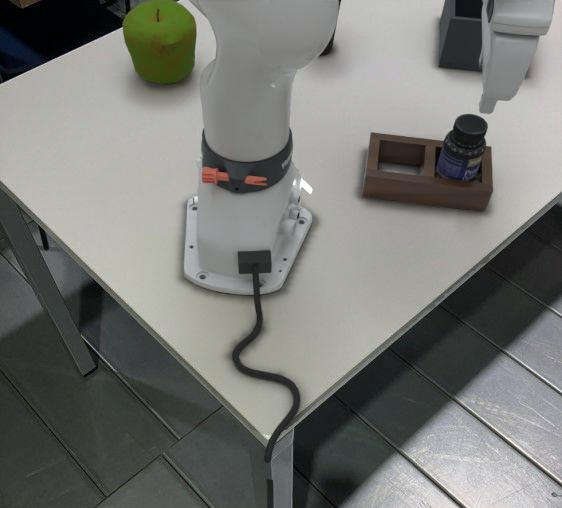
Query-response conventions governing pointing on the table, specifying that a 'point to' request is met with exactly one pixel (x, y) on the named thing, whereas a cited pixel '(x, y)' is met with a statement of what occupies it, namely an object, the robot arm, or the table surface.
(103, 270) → the table surface
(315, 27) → the robot arm
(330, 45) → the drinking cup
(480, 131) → the pill bottle
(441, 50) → the open square box
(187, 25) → the apple
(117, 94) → the table surface
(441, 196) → the brown wooden caddy
